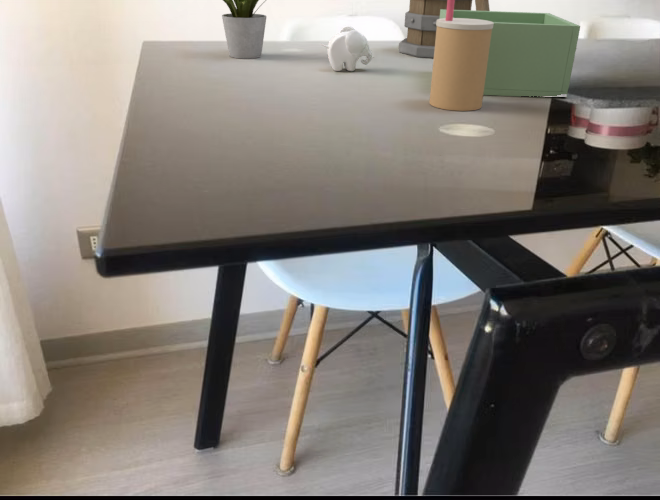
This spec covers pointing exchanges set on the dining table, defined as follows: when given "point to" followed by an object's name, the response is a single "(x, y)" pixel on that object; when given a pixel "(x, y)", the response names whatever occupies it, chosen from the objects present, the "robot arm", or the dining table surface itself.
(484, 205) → the dining table surface
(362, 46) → the elephant figurine
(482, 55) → the straw cup
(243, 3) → the house plant
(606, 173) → the dining table surface
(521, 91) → the bin
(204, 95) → the dining table surface
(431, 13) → the tankard
